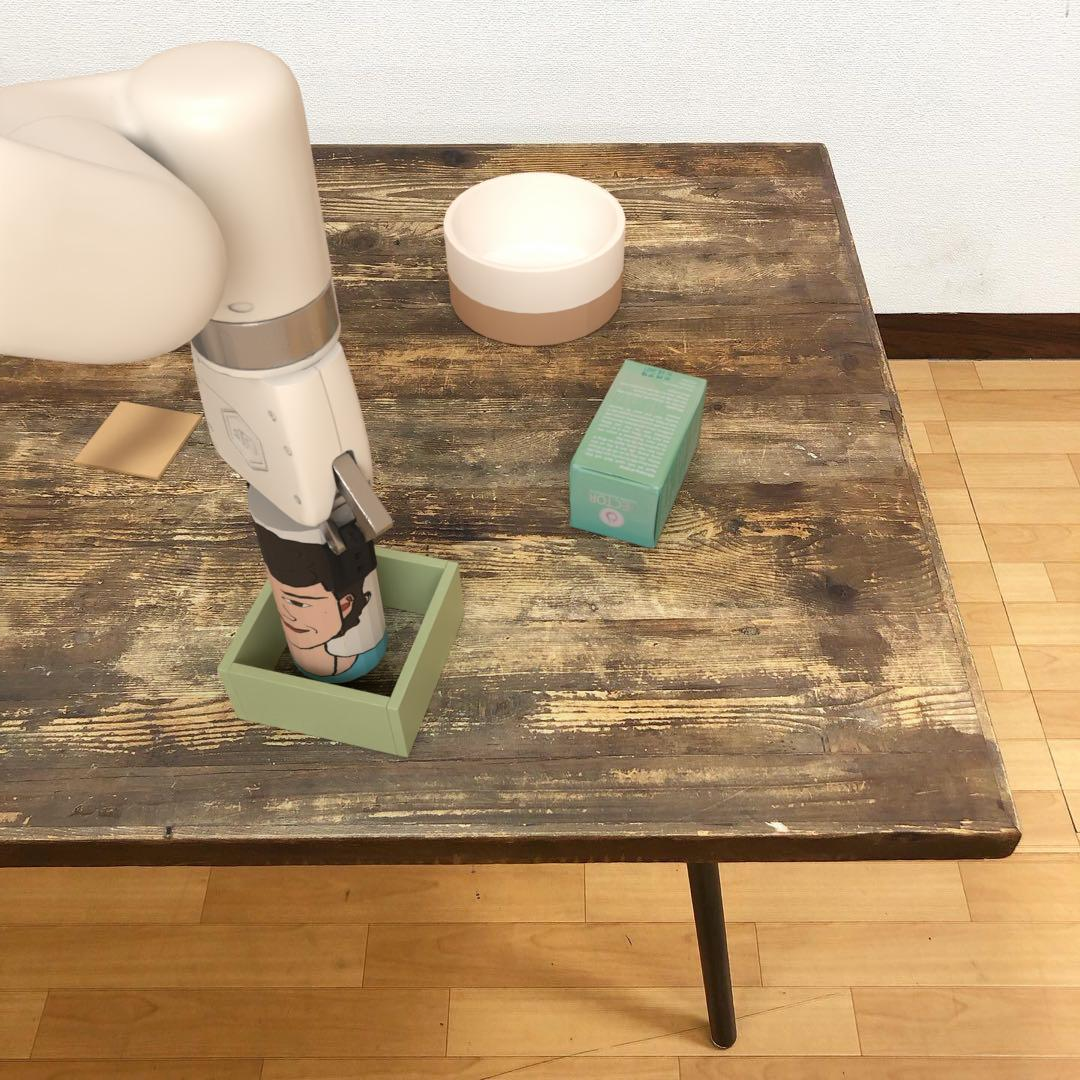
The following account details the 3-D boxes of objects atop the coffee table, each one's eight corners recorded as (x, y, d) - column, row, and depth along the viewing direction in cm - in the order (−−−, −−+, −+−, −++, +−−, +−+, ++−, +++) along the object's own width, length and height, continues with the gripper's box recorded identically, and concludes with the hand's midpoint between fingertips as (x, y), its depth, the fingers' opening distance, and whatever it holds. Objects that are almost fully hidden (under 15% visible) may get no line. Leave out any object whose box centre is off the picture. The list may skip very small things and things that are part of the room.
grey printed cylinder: (294, 608, 76) (252, 454, 65) (389, 602, 77) (363, 448, 66) (286, 686, 72) (240, 535, 61) (387, 679, 72) (359, 528, 61)
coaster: (74, 464, 91) (73, 461, 91) (122, 404, 97) (120, 400, 96) (158, 480, 90) (157, 477, 90) (202, 418, 95) (201, 415, 95)
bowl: (587, 364, 99) (589, 288, 93) (420, 323, 104) (411, 249, 97) (645, 263, 110) (650, 189, 103) (491, 231, 114) (487, 158, 108)
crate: (237, 718, 74) (216, 669, 70) (308, 582, 82) (294, 530, 78) (408, 758, 72) (397, 709, 68) (464, 614, 80) (458, 562, 76)
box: (565, 530, 85) (566, 463, 80) (619, 423, 94) (623, 356, 88) (654, 555, 84) (661, 488, 78) (700, 444, 92) (710, 376, 86)
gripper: (106, 270, 56) (189, 507, 69) (305, 426, 48) (356, 661, 61) (227, 216, 60) (284, 451, 73) (432, 352, 51) (454, 589, 65)
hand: (316, 545), depth 67 cm, fingers closed on grey printed cylinder, 6 cm apart
